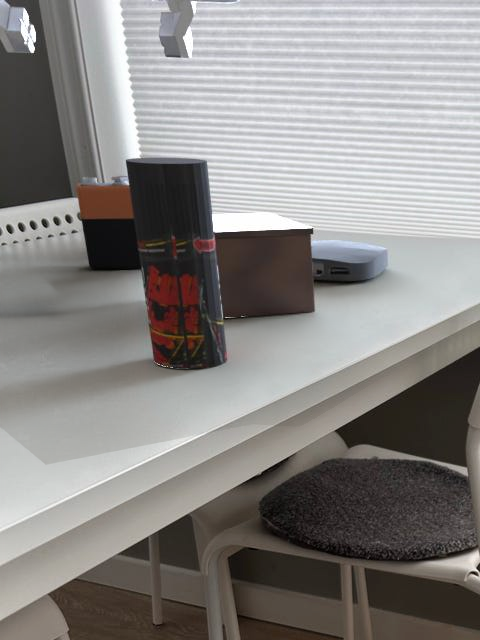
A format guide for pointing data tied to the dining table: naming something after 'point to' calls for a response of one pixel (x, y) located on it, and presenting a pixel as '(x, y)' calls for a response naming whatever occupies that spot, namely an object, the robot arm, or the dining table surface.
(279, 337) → the dining table surface
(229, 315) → the walnut box
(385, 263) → the media streaming box
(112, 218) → the battery
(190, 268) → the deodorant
